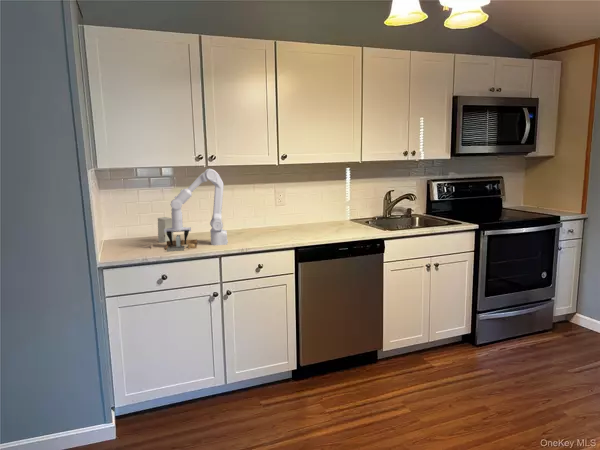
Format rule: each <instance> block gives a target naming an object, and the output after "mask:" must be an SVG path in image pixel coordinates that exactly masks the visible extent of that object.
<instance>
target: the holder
mask: <svg viewBox="0 0 600 450" xmlns="http://www.w3.org/2000/svg"><path fill="white" fill-rule="evenodd" d="M185 248H186V247H185V245H181V246H178V247H177V246H169V247H167V250H166V252H170V253H171V252H182V251H184V252H185V250H186V249H185Z"/></svg>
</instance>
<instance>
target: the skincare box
mask: <svg viewBox="0 0 600 450" xmlns="http://www.w3.org/2000/svg"><path fill="white" fill-rule="evenodd" d="M167 228H172V217H167V216H164V217H163V216H162V217H157V241H158V243H167V241H170V240H169V237H168V236H167V232H166V233H164V229H167ZM172 241H174V232H172Z"/></svg>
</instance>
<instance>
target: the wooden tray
mask: <svg viewBox="0 0 600 450" xmlns="http://www.w3.org/2000/svg"><path fill="white" fill-rule="evenodd" d="M180 240H181V246H188V244H195V245H194V246H195V247H194V249H197V247H198V239H186V244H184V241H185V239H180ZM172 242H173V245H171V242H170V241H167V242H166V245H165V247H164V251H167V247H172V246H176V240H173V241H172ZM184 248H185V249H184V250H188V249H191V248H188V247H184Z"/></svg>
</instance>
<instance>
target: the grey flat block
mask: <svg viewBox="0 0 600 450" xmlns="http://www.w3.org/2000/svg"><path fill="white" fill-rule="evenodd" d="M181 240H182V239H181V235H180V234H177V235H176V237H175V241H176V245H175V247H178V246H182V245H181Z"/></svg>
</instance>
